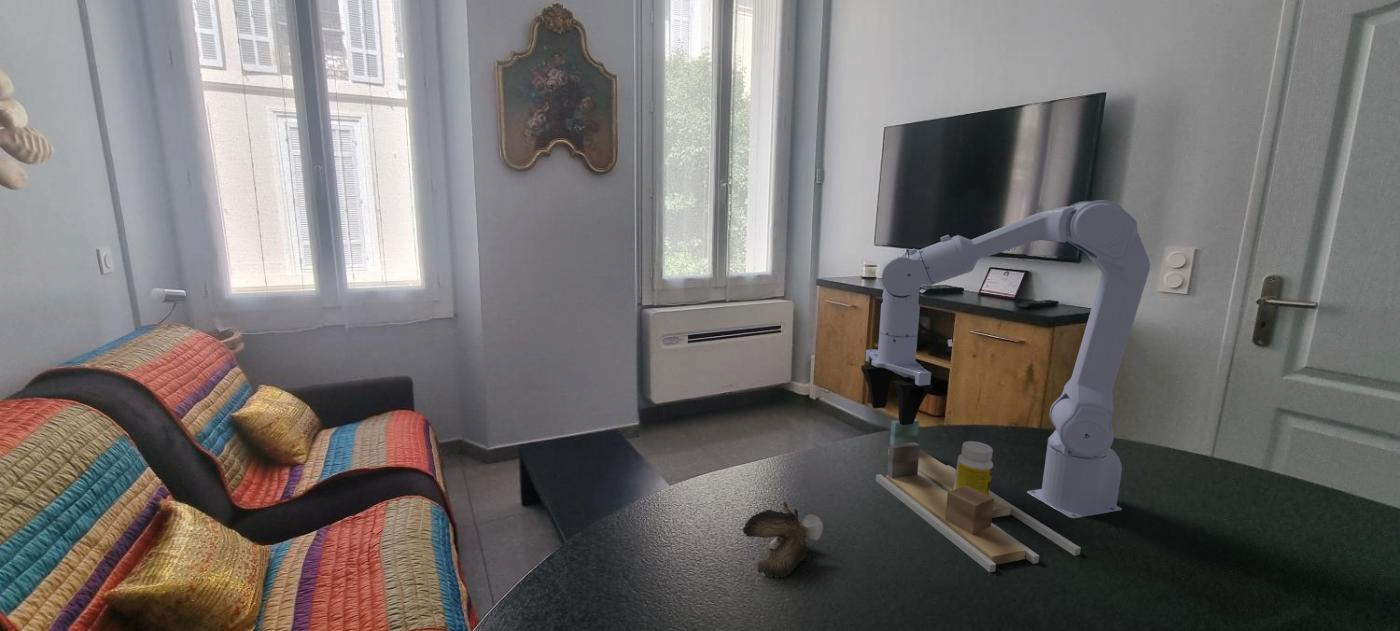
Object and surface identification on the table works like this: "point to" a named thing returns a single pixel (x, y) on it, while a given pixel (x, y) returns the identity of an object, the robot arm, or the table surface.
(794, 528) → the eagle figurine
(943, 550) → the table surface
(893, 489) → the lane board
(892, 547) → the table surface
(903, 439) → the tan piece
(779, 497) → the table surface
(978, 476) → the supplement bottle
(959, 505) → the walnut cube
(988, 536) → the gray handled wooden slider
